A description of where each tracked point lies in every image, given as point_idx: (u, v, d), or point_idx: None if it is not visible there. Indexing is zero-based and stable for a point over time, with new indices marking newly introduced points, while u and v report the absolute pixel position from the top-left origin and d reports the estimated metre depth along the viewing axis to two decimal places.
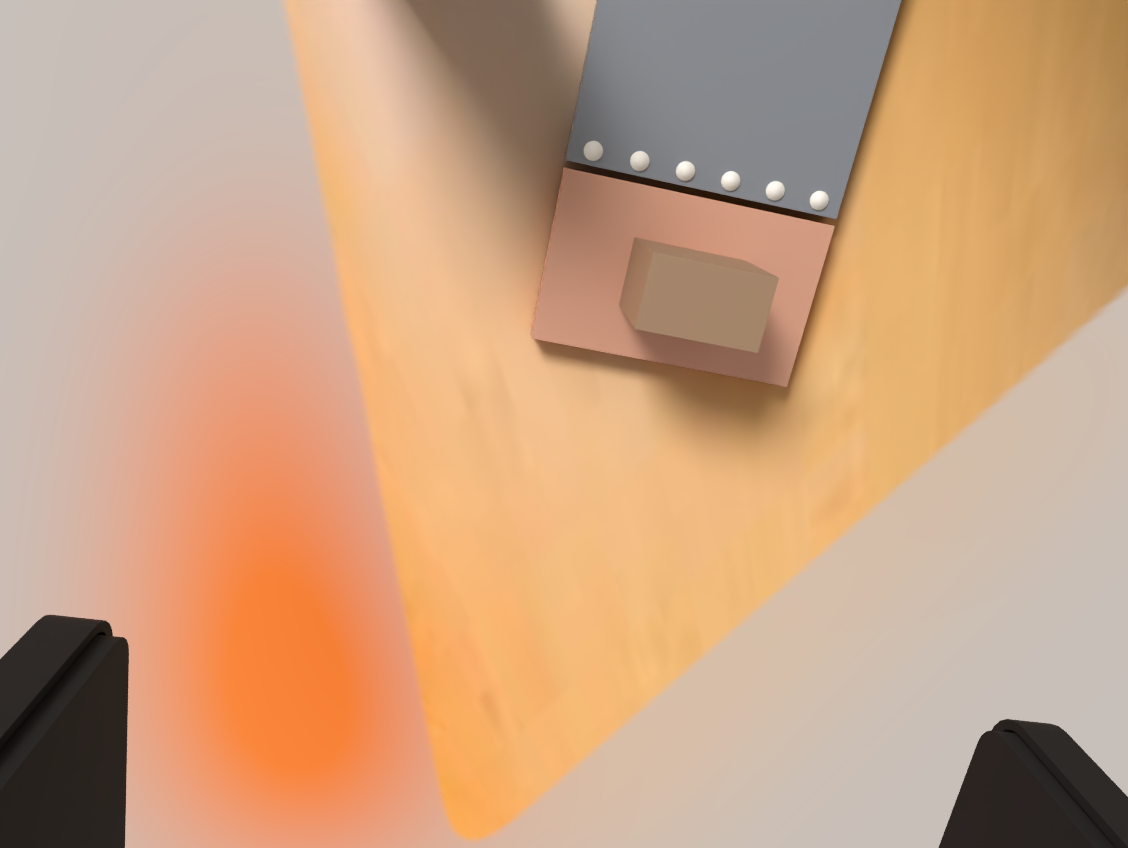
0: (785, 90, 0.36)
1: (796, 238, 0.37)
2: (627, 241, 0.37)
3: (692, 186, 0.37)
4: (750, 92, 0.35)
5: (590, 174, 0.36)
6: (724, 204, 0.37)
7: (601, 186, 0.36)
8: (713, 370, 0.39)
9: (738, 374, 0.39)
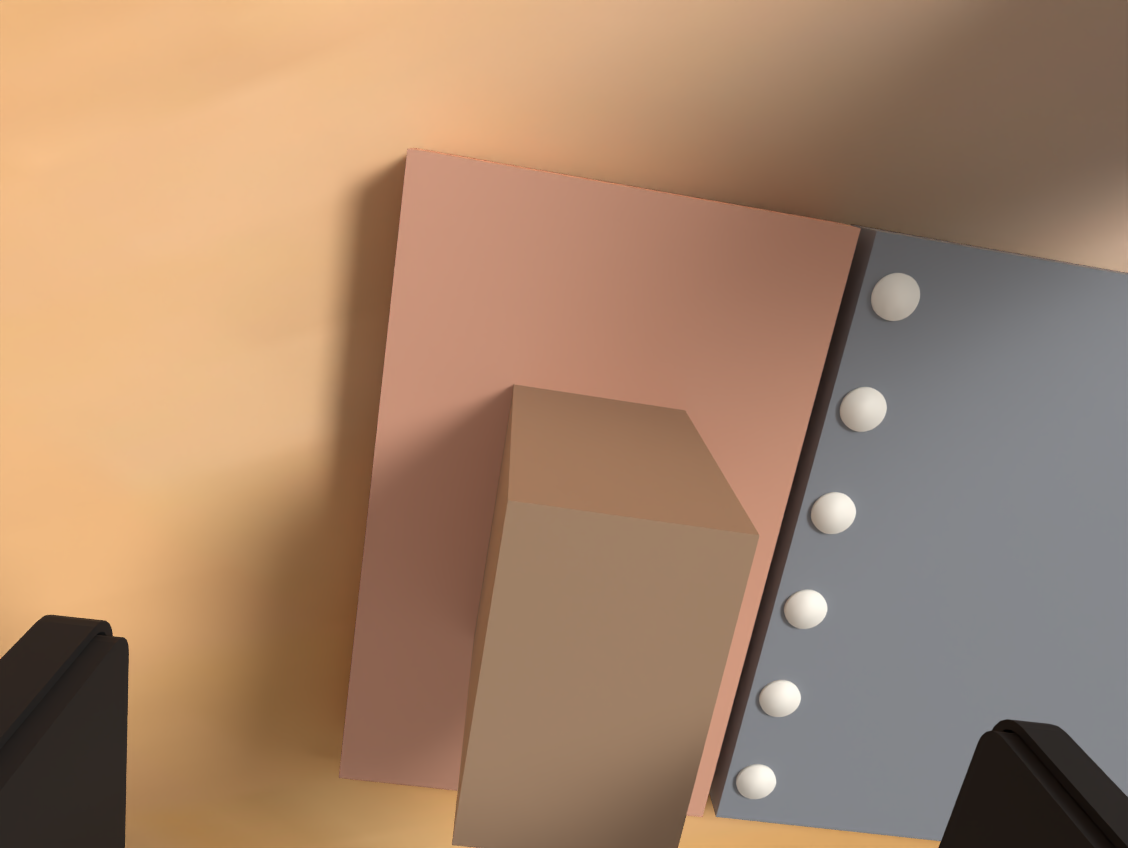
0: (979, 692, 0.17)
1: None
2: (674, 394, 0.15)
3: (797, 531, 0.16)
4: (985, 625, 0.17)
5: (839, 293, 0.14)
6: (755, 602, 0.16)
7: (810, 322, 0.15)
8: (362, 621, 0.16)
9: (357, 675, 0.16)
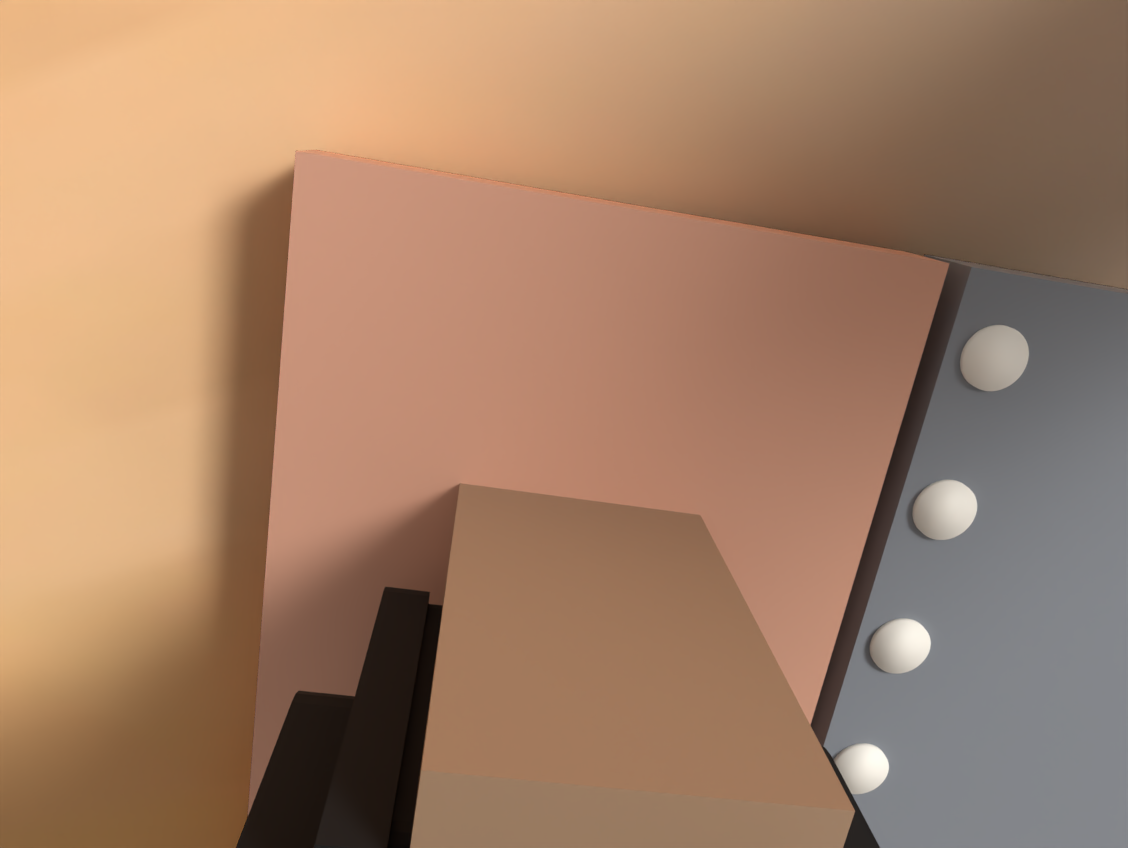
0: None
1: None
2: (686, 493, 0.11)
3: (851, 669, 0.12)
4: (1094, 782, 0.12)
5: (917, 353, 0.10)
6: None
7: (875, 393, 0.10)
8: None
9: None
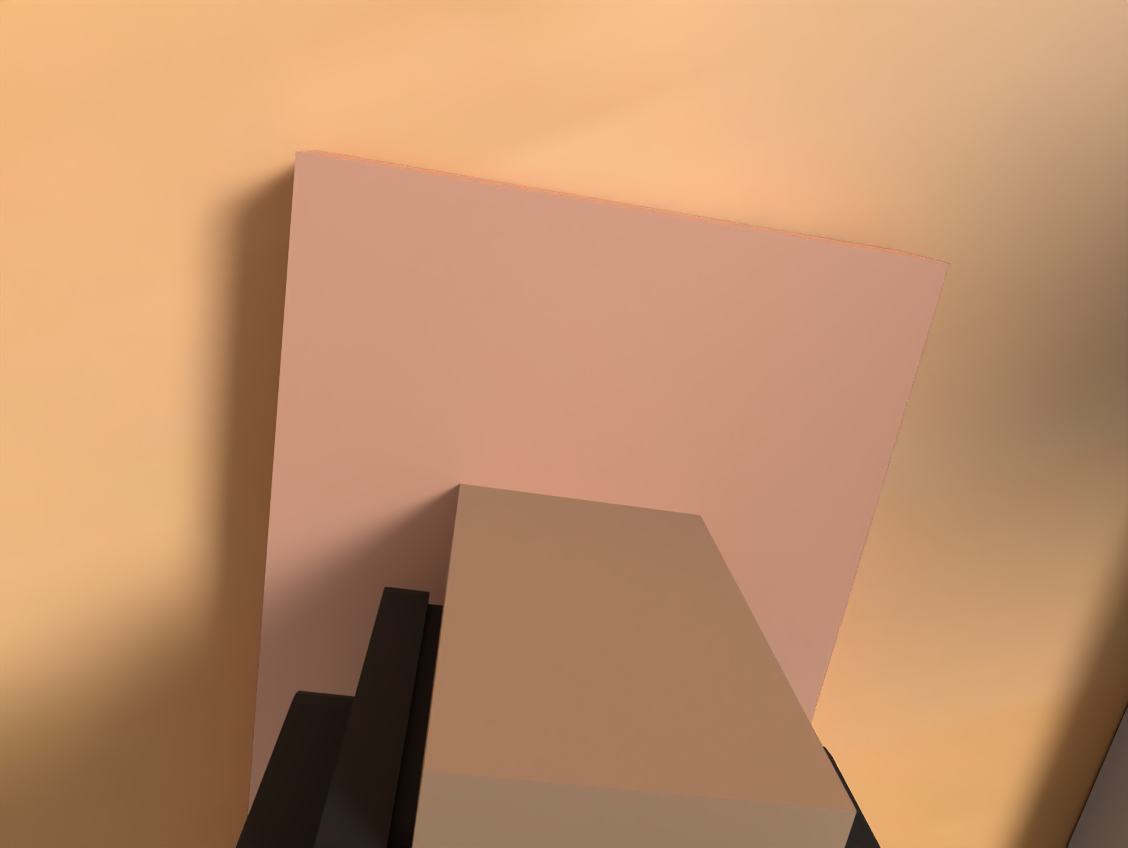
0: None
1: None
2: (686, 494, 0.11)
3: None
4: None
5: (916, 353, 0.10)
6: None
7: (875, 393, 0.10)
8: None
9: None
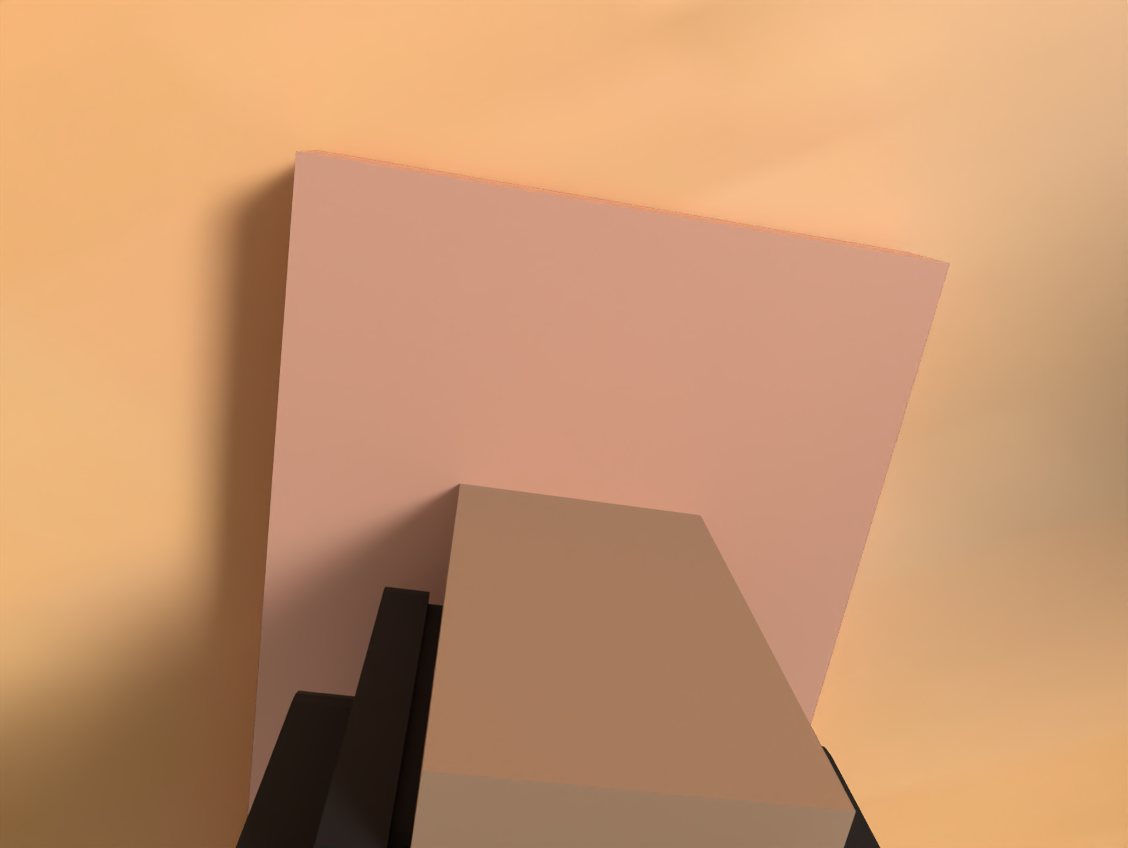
0: None
1: None
2: (686, 494, 0.11)
3: None
4: None
5: (917, 353, 0.10)
6: None
7: (875, 394, 0.10)
8: None
9: None
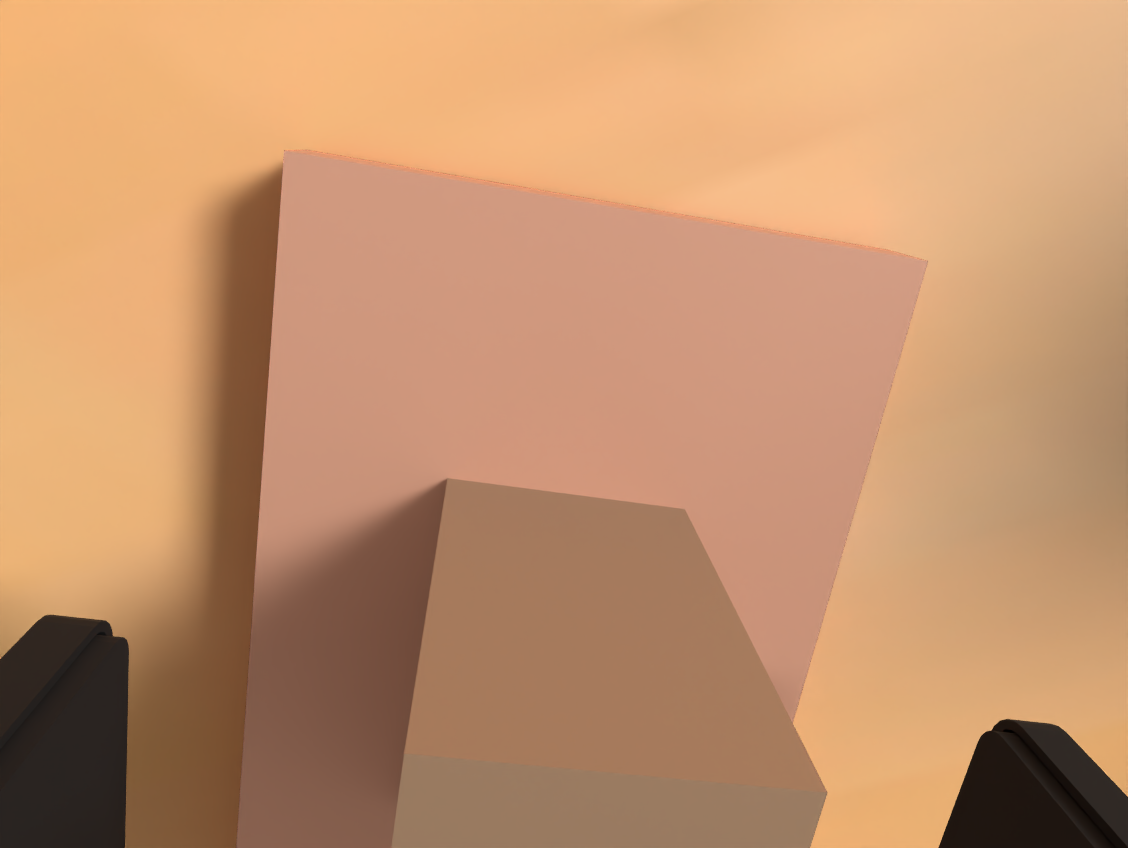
0: None
1: None
2: (670, 488, 0.11)
3: None
4: None
5: (897, 349, 0.10)
6: None
7: (856, 389, 0.11)
8: (248, 792, 0.12)
9: None
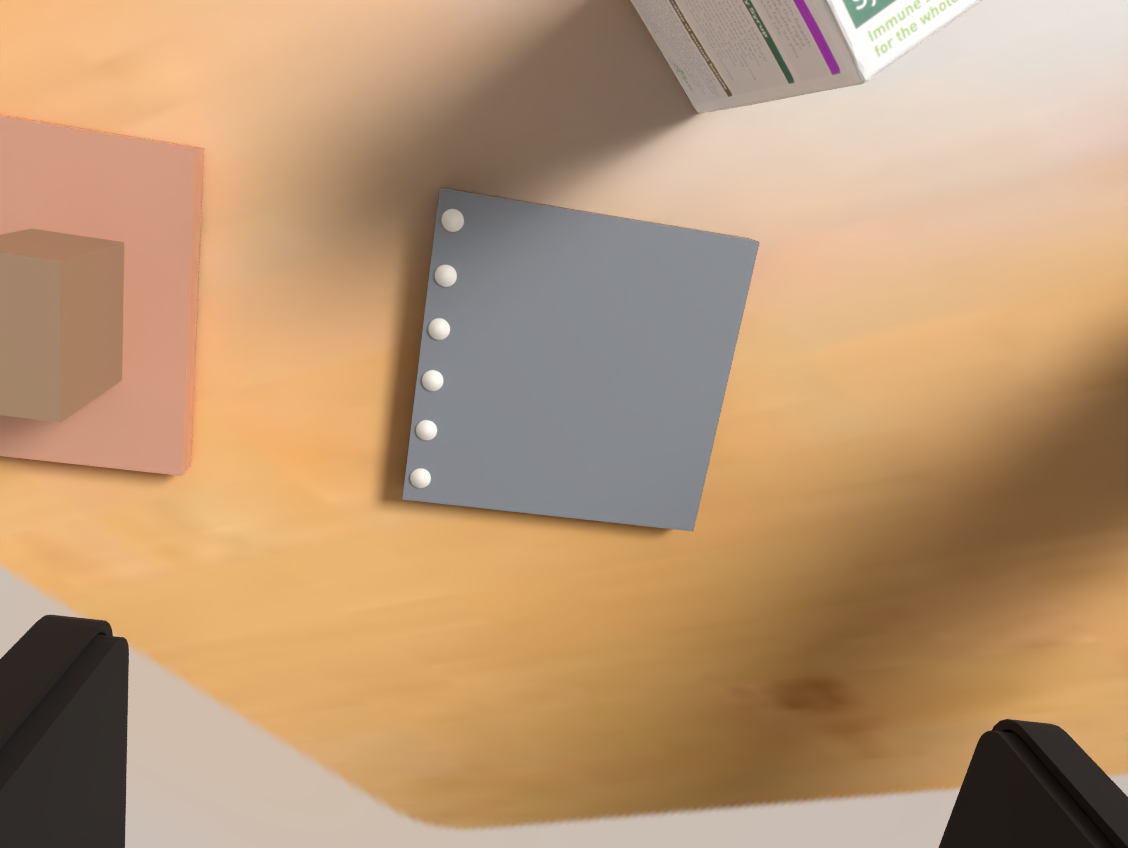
0: (530, 426, 0.34)
1: (159, 435, 0.32)
2: (117, 233, 0.30)
3: (423, 338, 0.32)
4: (526, 389, 0.33)
5: (192, 181, 0.30)
6: (184, 347, 0.31)
7: (179, 196, 0.30)
8: None
9: None
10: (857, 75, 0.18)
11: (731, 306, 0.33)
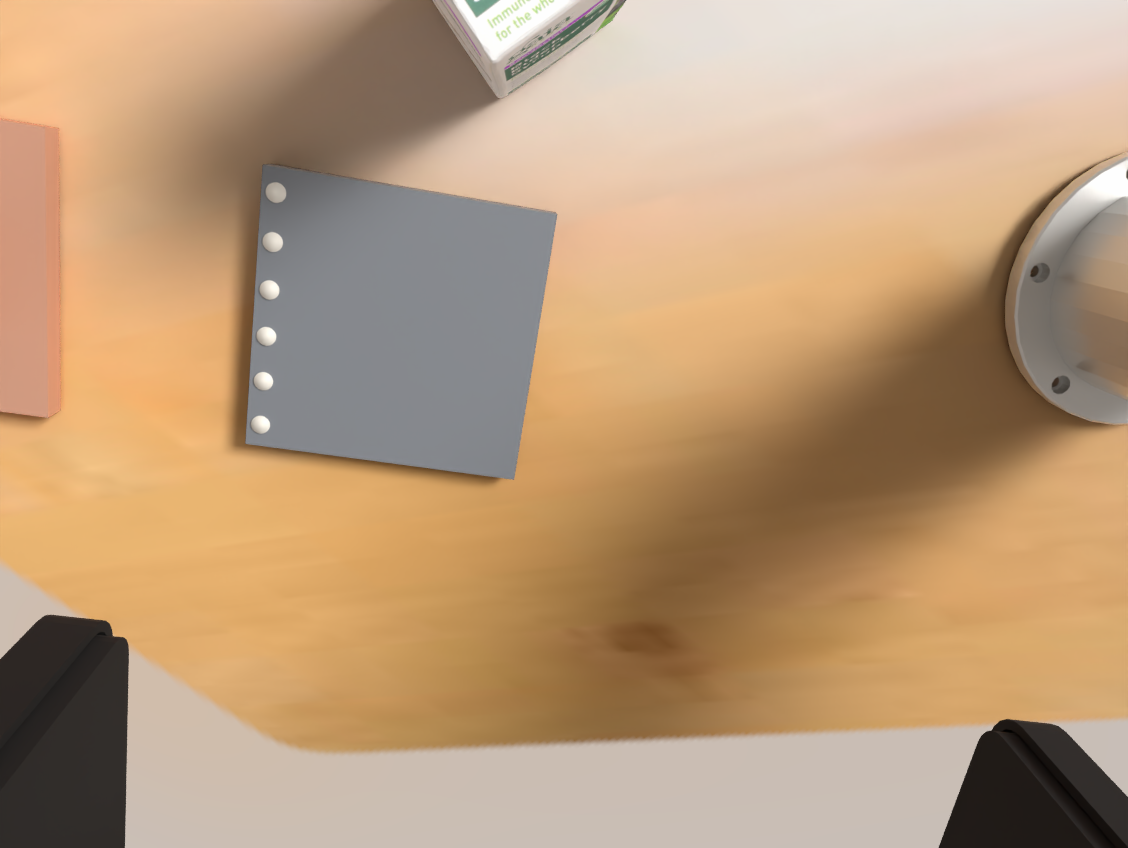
0: (357, 379, 0.37)
1: (26, 381, 0.37)
2: None
3: (255, 298, 0.36)
4: (352, 345, 0.37)
5: (44, 156, 0.34)
6: (44, 303, 0.36)
7: (34, 169, 0.34)
8: None
9: None
10: (486, 56, 0.22)
11: (535, 273, 0.37)
